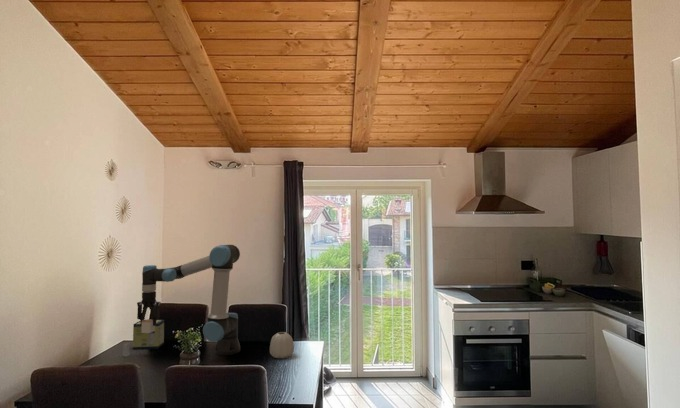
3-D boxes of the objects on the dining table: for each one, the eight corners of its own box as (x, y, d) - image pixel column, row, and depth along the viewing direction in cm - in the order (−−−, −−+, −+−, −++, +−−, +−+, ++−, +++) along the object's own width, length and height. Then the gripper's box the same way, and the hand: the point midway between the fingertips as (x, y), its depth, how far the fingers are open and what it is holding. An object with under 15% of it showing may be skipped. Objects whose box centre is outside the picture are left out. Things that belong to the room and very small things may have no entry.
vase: (281, 351, 233) (281, 328, 234) (298, 355, 225) (298, 332, 226) (264, 357, 222) (264, 333, 223) (281, 362, 214) (282, 337, 215)
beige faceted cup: (154, 330, 231) (155, 319, 231) (149, 332, 226) (150, 321, 226) (146, 330, 231) (146, 319, 232) (141, 332, 226) (141, 321, 227)
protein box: (138, 344, 249) (139, 320, 250) (164, 344, 251) (164, 319, 252) (132, 349, 239) (132, 324, 240) (158, 348, 240) (159, 323, 241)
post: (129, 355, 227) (130, 343, 227) (126, 357, 224) (127, 344, 225) (125, 355, 227) (125, 343, 228) (122, 356, 224) (123, 344, 225)
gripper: (167, 290, 233) (166, 329, 231) (138, 290, 235) (137, 329, 233) (160, 292, 226) (159, 333, 224) (130, 292, 227) (129, 332, 226)
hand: (148, 331), depth 229 cm, fingers closed on beige faceted cup, 5 cm apart
